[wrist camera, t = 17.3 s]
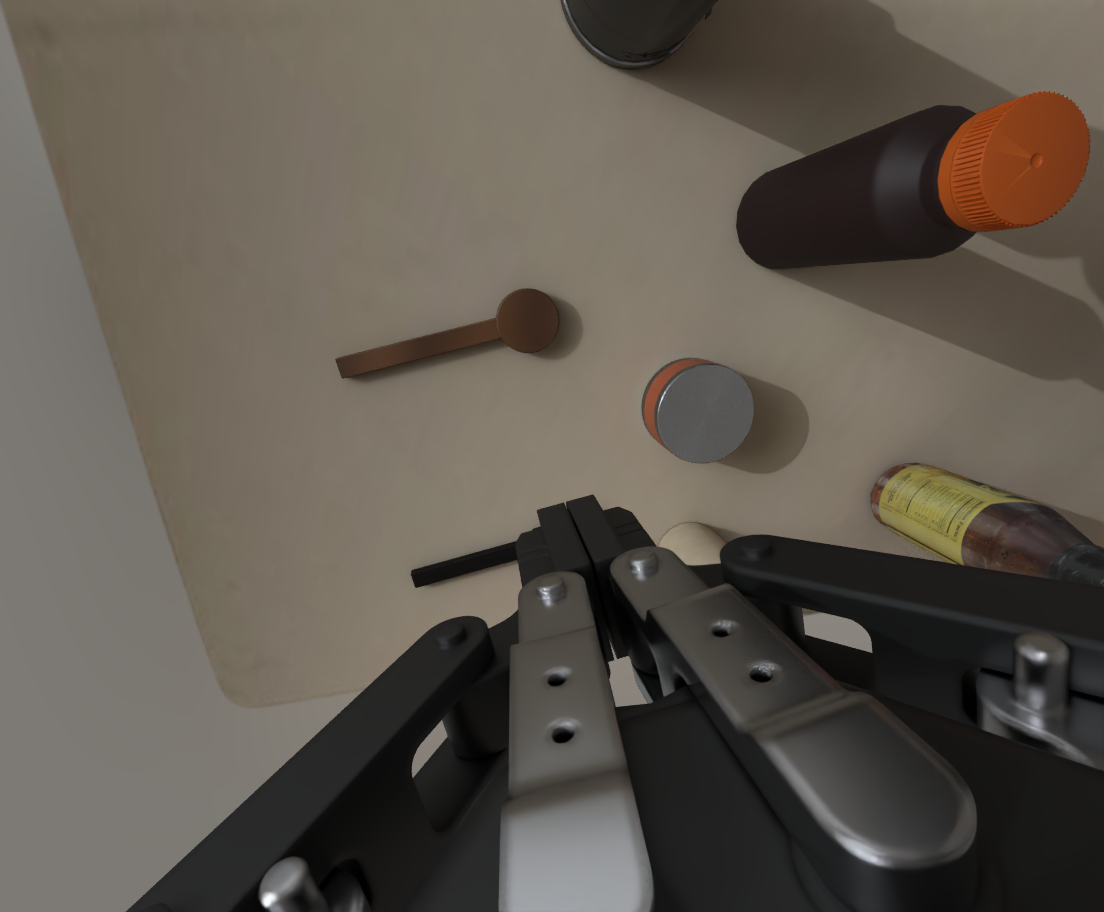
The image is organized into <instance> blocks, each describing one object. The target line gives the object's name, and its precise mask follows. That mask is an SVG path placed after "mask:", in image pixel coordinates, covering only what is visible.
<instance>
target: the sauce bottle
mask: <svg viewBox="0 0 1104 912" xmlns="http://www.w3.org/2000/svg"><path fill="white" fill-rule="evenodd" d="M871 506H872V510H873V513H874V516H875V518H876V519H877V520H878V521H879V522H880V523H881V524H883V525H884V526H886V527H888V529H889V530H891V531H892V532H893V533H895V534H897V535H899V536H900V537H902V538H904V539H906V540H908V541H910V542H911V543H913V544H915V545H917V546H918V547H920V548H922V549H924V550H926V551H928V552H930V553H931V554H933V555H935V556H937V557H939V558H941V559H943V560H944V561H946V562H948V563H952V564H958V565H965V566H971V567H978V568H984V569H990V570H997V571H1003V572H1010V573H1016V574H1023V575H1029V576H1035V577H1042V578H1048V579H1055V580H1061V581H1067V582H1074V583H1080V584H1087V585H1093V586H1100V587H1104V548H1102V547H1099V546H1096V545H1095V544H1094V543H1092V542H1091V541H1090V540H1089V539H1088V538H1087V537H1085V536H1084V535H1083V534H1082V533H1081V532H1080V531H1079V530H1077V529H1076V528H1075V527H1074V526H1073V525H1072V524H1070V523H1069V522H1068V521H1067V520H1066V519H1065V518H1064V517H1062V516H1061V515H1060V514H1059V513H1058V512H1056V511H1055V510H1053V509H1051V508H1049V507H1046V506H1043V505H1041V504H1038V503H1035V502H1033V501H1029V500H1026V499H1024V498H1021V497H1018V496H1015V495H1012V494H1009V493H1006V492H1004V491H1001V490H998V489H995V488H992V487H989V486H986V485H984V484H982V483H978V482H975V481H972V480H969V479H967V478H964V477H961V476H958V475H955V474H953V473H950V472H947V471H944V470H941V469H938V468H936V467H933V466H929V465H922V464H919V463H907V464H906V463H905V464H902V465H899V466H896V467H893V468H891V469H889V470H888V471H887V472H885V473H884V474H883V475H882V476H881V477H880V478H879V480H878V482H877V483H876V484H875V487H874V488H873V490H872V493H871Z"/></svg>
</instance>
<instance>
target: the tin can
mask: <svg viewBox="0 0 1104 912" xmlns="http://www.w3.org/2000/svg"><path fill="white" fill-rule="evenodd" d="M642 416H643V421H644V424H645V426H646V428H647V430H648V432H649V433H650V435H651V436H652V437H653V438H654V439H655V440H656V441H657V442H659V443H660V444H661V445H662V446H663V447H665V448H666V449H667V450H668V451H670V452H671V453H672V454H674V455H675V456H677V457H678V458H680V459H682V460H685V461H688V462H691V463H710V462H714V461H717V460H720V459H722V458H724V457H726V456H728V455H729V454H731V453H732V452H733V451H734V450H736V449H737V448H738V447H739V446H740V444H741V443H742V442H743V441H744V439H745V438H746V436H747V434H748V433H749V430H750V428H751V425H752V422H753V417H754V400H753V396H752V393H751V390H750V388H749V386H748V384H747V383H746V381H745V380H744V379H743V378H742V377H741V376H740V375H739V374H738V373H737V372H735V371H734V370H732V369H730V368H728V367H726V366H723V365H720V364H717V363H713V362H710V361H707V360H702V359H697V358H683V359H679V360H676V361H673V362H671V363H669V364H667V365H665V366H664V367H663V368H661V369H660V370H659V371H658V372H657V373H656V374H655V375H654V376H653V377H652V379H651V380H650V382H649V383H648V385H647V387H646V389H645V392H644V395H643V399H642Z"/></svg>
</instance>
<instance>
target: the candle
mask: <svg viewBox="0 0 1104 912" xmlns="http://www.w3.org/2000/svg"><path fill="white" fill-rule="evenodd" d="M724 545H726V543H725V542H724V541H723V540H722V539H721V538H720V537H719V536H718V535H717V534H716V533H715V532H714V531H713V530H711V529H710V528H709V527H707V526H705V525H703V524H700V523H693V522H690V523H683V524H680V525H678V526H676V527H674V528H672V529H671V530H670V531H668V532H667V533H666V534H665V536H664V537H663V538H662V540H661V541H660V544H659V546H658V547H663V548H666V549H669V550H671V551H673V552H674V553H675V554H676V555H677V556H678V557H679V558H680V559H681V560H682V561H683V562H684V563H685V564H686V565H707V564H718V563H721V561H720V551H721V549H722V547H723V546H724Z"/></svg>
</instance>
